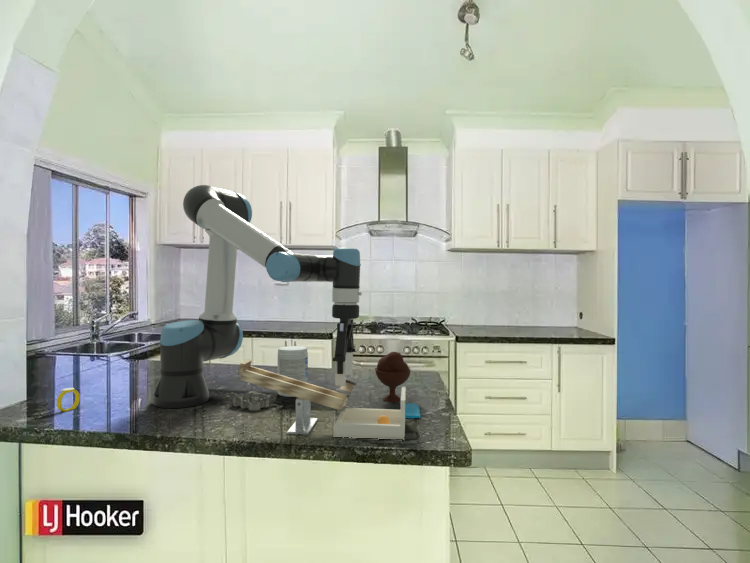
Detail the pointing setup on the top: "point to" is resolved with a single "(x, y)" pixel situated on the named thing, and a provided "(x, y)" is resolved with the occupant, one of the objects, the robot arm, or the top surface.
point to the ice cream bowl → (392, 373)
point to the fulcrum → (302, 418)
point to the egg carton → (256, 400)
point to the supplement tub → (293, 363)
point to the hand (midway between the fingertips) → (344, 380)
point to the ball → (383, 420)
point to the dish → (371, 422)
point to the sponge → (412, 410)
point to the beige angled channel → (296, 386)
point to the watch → (59, 399)
